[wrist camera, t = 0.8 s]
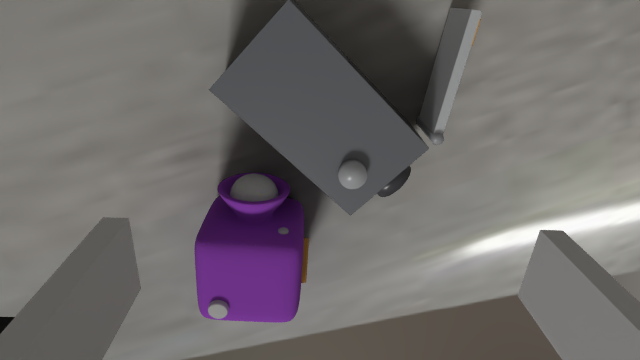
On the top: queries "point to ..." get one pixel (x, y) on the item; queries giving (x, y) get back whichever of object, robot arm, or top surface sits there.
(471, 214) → the top surface
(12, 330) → the robot arm
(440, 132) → the side door
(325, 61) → the box
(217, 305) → the toy camera
